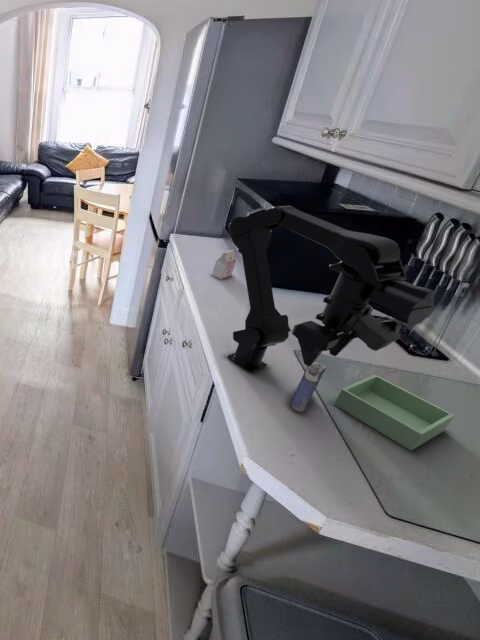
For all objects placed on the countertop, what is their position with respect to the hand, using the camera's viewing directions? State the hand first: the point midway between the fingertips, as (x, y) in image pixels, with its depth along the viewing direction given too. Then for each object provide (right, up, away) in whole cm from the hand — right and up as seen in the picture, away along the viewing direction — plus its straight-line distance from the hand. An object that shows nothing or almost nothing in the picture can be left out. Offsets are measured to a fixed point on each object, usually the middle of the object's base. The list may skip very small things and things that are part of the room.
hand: (320, 359), depth 85 cm
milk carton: (+20, +15, +64) cm, 68 cm away
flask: (0, -11, +5) cm, 12 cm away
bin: (+16, -13, +1) cm, 20 cm away
